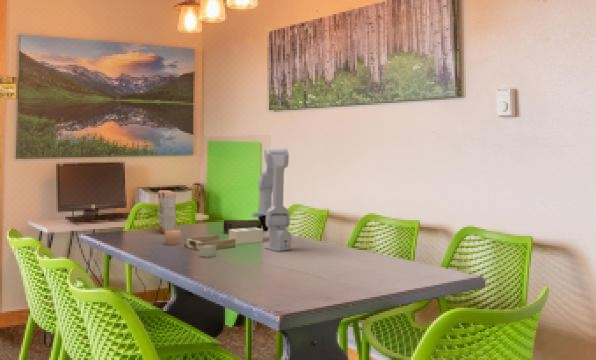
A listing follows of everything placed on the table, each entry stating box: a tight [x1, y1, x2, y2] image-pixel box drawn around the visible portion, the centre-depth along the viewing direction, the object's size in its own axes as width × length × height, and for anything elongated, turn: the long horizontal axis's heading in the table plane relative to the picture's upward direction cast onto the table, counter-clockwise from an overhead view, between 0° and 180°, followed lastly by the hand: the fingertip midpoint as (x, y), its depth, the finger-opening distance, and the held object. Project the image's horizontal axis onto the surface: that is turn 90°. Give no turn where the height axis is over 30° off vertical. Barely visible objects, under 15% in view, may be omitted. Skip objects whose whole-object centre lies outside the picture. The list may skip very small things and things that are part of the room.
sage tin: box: [198, 245, 217, 258], centre depth 236 cm, size 5×5×4 cm
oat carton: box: [228, 227, 264, 245], centre depth 268 cm, size 8×14×6 cm, turn 121°
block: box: [164, 229, 182, 246], centre depth 261 cm, size 7×7×6 cm
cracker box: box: [158, 189, 177, 235], centre depth 292 cm, size 14×6×21 cm, turn 25°
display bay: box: [184, 234, 236, 251], centre depth 255 cm, size 14×18×4 cm
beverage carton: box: [222, 219, 263, 235], centre depth 294 cm, size 8×19×7 cm, turn 102°
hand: (265, 231), depth 275 cm, fingers closed
